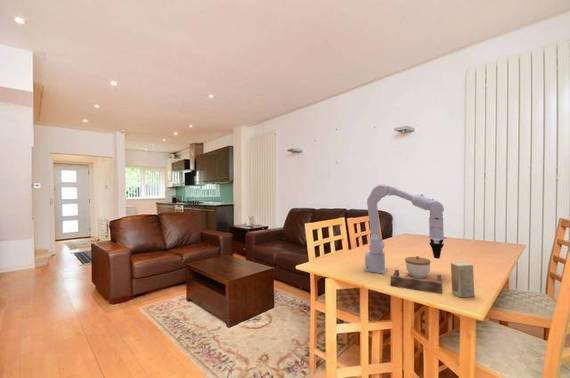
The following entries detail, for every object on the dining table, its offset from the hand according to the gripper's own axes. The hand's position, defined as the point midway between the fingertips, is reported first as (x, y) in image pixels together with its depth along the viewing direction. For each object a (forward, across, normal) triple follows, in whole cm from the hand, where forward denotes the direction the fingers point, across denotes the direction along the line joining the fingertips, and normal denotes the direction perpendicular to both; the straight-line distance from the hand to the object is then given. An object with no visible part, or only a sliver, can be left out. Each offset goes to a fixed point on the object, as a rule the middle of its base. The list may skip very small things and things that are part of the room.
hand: (436, 256), depth 123 cm
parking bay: (+10, -13, +8) cm, 18 cm away
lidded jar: (+10, -2, +8) cm, 13 cm away
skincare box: (+10, -19, -9) cm, 23 cm away
